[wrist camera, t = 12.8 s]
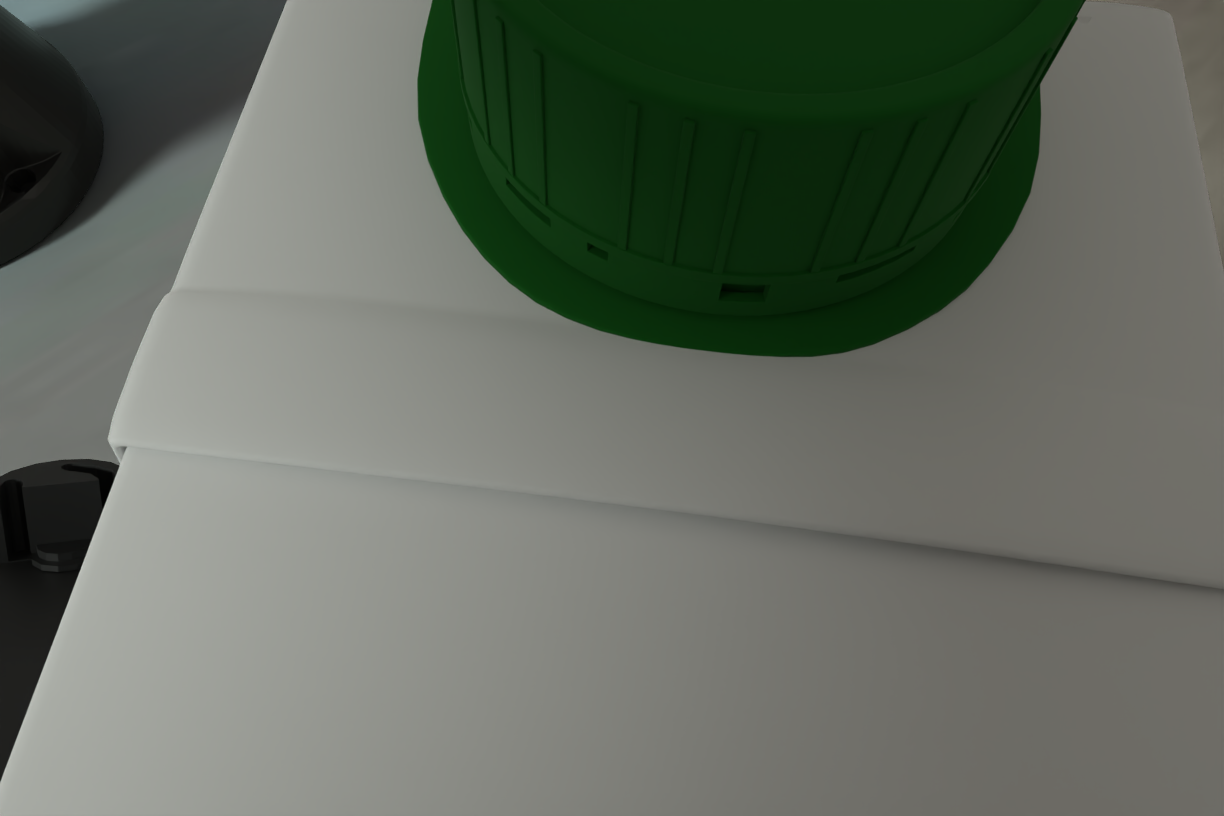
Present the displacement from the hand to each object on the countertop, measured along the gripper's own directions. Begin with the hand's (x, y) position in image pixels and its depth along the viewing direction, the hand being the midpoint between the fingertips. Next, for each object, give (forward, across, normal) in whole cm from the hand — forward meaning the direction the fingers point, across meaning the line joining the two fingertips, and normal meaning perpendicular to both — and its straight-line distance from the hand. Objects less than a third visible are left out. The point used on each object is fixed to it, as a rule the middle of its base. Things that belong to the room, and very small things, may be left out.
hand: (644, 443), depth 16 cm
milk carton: (+4, 0, -9) cm, 9 cm away
